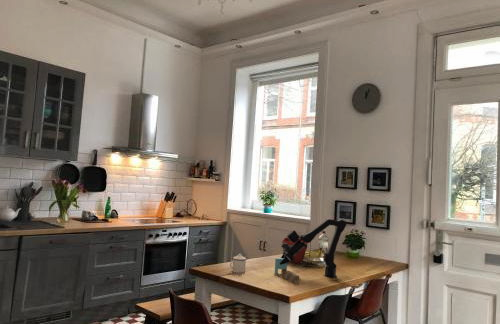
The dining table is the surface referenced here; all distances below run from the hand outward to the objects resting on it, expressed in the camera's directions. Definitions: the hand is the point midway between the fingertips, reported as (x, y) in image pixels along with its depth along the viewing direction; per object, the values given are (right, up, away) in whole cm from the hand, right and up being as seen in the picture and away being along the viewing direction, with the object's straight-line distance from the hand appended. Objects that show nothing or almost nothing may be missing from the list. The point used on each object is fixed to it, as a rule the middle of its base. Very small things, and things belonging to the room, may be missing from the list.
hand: (279, 262), depth 273 cm
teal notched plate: (+1, -7, 0) cm, 7 cm away
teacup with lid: (-29, -5, -3) cm, 29 cm away
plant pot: (+15, -10, +45) cm, 48 cm away
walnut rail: (+5, -6, -18) cm, 20 cm away
